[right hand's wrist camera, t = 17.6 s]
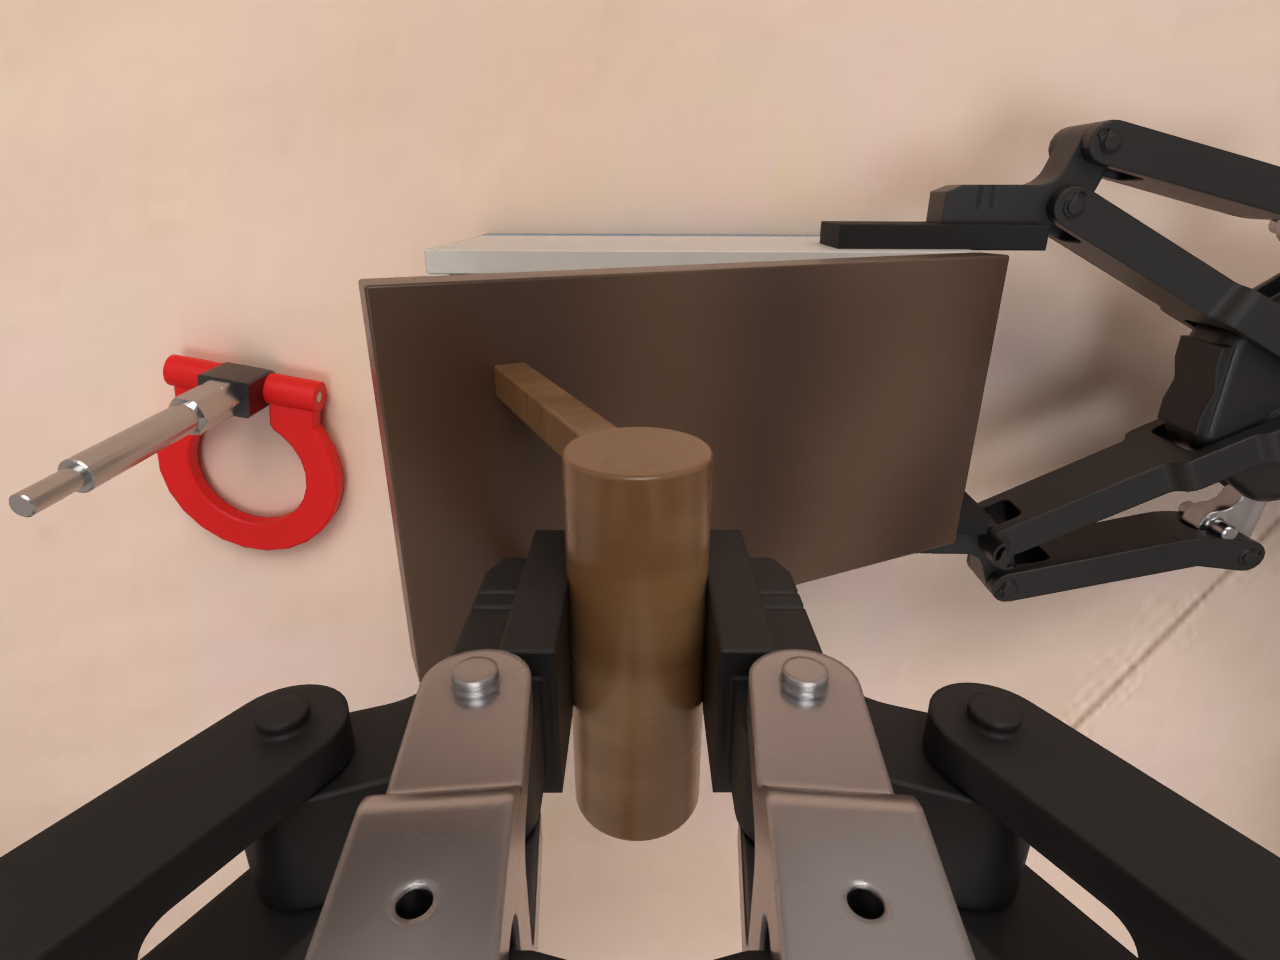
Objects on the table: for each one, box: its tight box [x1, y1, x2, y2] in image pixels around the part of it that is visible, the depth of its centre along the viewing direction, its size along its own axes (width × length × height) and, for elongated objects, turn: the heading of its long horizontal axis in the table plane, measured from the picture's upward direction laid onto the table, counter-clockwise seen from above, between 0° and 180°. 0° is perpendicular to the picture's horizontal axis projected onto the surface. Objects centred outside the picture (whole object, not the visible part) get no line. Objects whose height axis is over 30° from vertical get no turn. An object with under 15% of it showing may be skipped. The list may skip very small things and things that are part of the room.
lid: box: [359, 252, 1009, 841], centre depth 16 cm, size 18×9×9 cm, turn 89°
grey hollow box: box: [424, 234, 981, 276], centre depth 27 cm, size 17×9×9 cm, turn 90°
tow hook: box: [9, 354, 343, 550], centre depth 28 cm, size 8×13×9 cm
